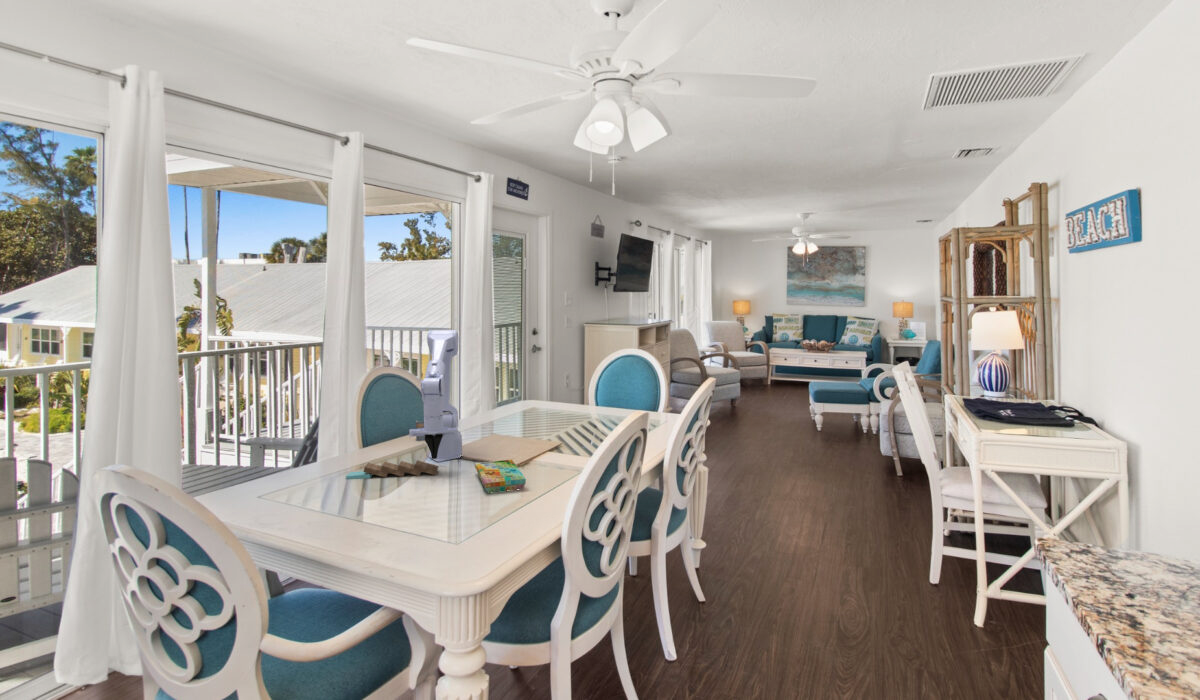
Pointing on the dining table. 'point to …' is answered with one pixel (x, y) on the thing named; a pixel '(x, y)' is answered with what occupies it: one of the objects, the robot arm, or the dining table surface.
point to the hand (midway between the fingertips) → (434, 457)
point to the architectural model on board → (418, 426)
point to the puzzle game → (500, 475)
